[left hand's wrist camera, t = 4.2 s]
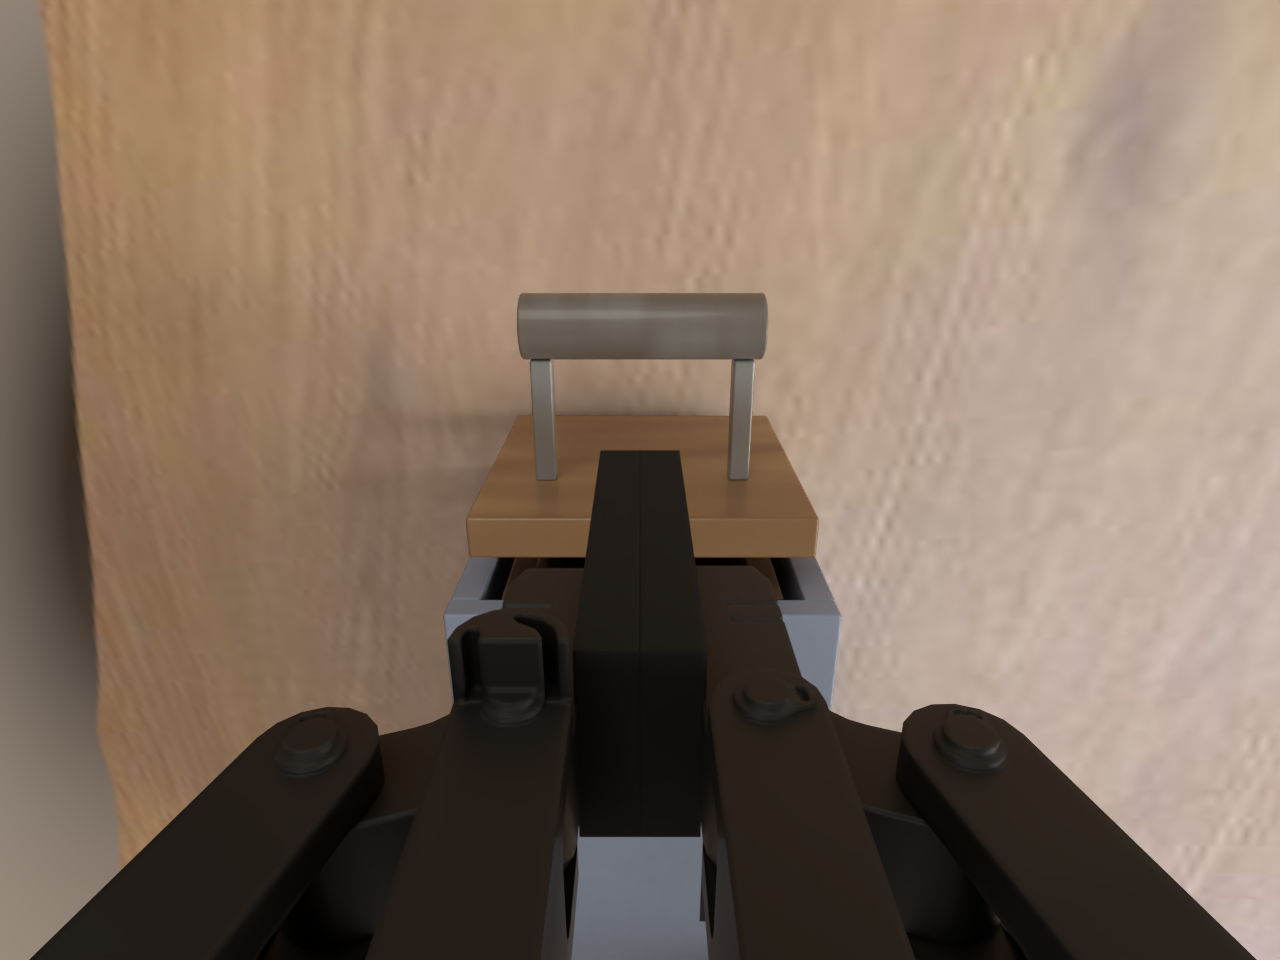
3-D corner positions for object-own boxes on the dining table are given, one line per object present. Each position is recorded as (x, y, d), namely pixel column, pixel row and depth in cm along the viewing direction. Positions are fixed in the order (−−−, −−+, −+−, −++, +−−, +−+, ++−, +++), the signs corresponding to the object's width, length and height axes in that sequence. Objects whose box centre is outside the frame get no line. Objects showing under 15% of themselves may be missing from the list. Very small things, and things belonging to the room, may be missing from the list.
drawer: (508, 266, 27) (445, 311, 18) (776, 266, 27) (839, 312, 18) (539, 768, 35) (506, 960, 27) (744, 768, 35) (777, 961, 27)
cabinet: (509, 465, 31) (442, 615, 20) (775, 465, 31) (842, 615, 20) (533, 811, 37) (491, 1055, 27) (750, 812, 37) (792, 1056, 27)
